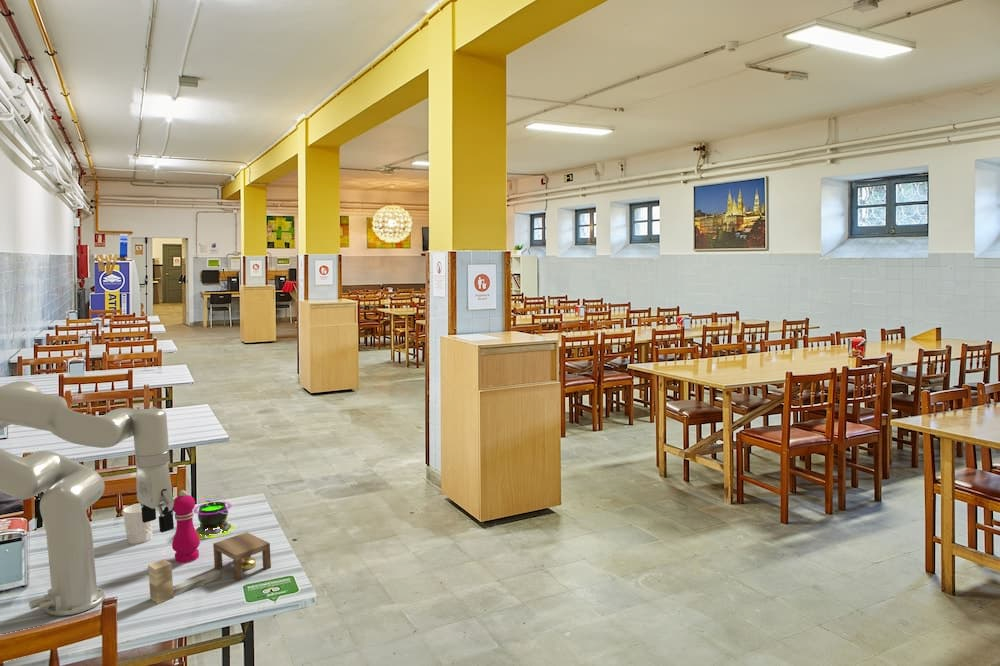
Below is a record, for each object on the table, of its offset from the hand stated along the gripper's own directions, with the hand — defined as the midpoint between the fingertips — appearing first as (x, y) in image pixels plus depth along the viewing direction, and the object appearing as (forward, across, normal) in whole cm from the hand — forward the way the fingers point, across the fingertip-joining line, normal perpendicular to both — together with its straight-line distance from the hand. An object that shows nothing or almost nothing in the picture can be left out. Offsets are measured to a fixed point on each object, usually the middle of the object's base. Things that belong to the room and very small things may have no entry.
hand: (158, 525), depth 173 cm
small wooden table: (+19, 0, +22) cm, 29 cm away
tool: (+19, 0, +6) cm, 20 cm away
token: (+20, 0, +23) cm, 30 cm away
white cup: (+19, -42, +12) cm, 48 cm away
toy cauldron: (+19, -32, +30) cm, 48 cm away
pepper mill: (+19, -18, +15) cm, 30 cm away
